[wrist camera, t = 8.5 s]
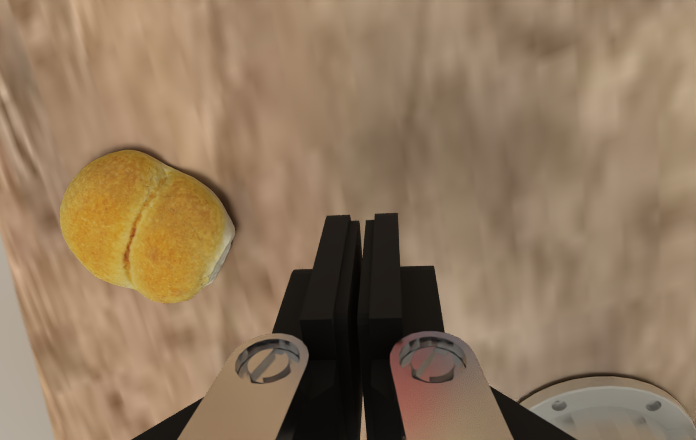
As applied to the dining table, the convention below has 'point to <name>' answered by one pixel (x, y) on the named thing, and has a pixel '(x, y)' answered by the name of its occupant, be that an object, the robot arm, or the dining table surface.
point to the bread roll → (146, 226)
